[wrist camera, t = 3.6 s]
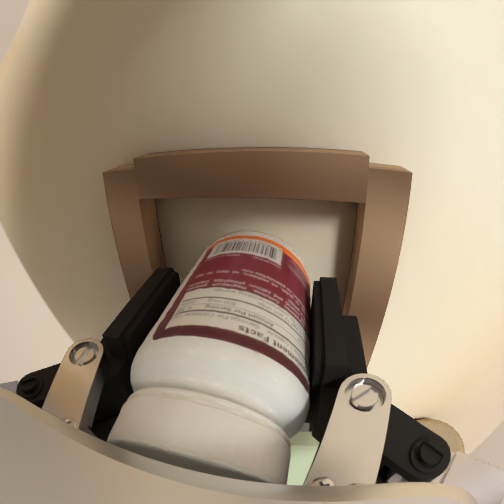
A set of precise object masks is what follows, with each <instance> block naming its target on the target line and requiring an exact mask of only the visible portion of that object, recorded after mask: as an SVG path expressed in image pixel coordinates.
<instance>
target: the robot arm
mask: <svg viewBox="0 0 504 504" xmlns="http://www.w3.org/2000/svg"><path fill="white" fill-rule="evenodd" d="M180 285H181V284H180V279H179V274H178V273H177V272H175V271H174V269H173V268H163V267H158V268H157V269H156V270H155V271H154V272H153V273H152V275H151V276H150V277H149V278H148V279H147V280H146V282H145V283H144V284H143V285H142V286H141V288H140V289H139V290H138V291H137V292H136V294H135V295H134V296H133V297H132V299H131V300H130V301H129V302H128V303H127V305H126V306H125V307H124V308H123V310H122V311H121V312H120V313H119V315H118V316H117V317H116V318H115V320H114V321H113V322H112V323H111V325H110V326H109V327H108V328H107V330H106V331H105V332H104V334H103V335H102V336H103V339H102V340H101V342H100V341H98V340H96V339H91V338H89V339H83V340H79V341H77V342H76V343H74V344H73V345H72V346H70V347H69V349H68V350H67V352H66V354H65V356H64V358H63V360H62V362H61V363H59V364H57V365H53V366H51V367H47V368H44V369H41V370H38V371H35V372H32V373H30V374H27V375H26V376H25V377H23V378H22V379H21V380H20V381H19V382H18V381H13V382H8V383H2V384H0V504H501V501H502V499H503V496H504V471H503V470H502V469H500V468H499V467H496V466H493V465H491V464H488V463H486V462H483V461H481V460H478V459H476V458H473V457H471V456H469V455H467V454H465V453H462V452H460V451H457V452H456V453H454V452H451V451H450V447H449V445H448V443H447V442H446V441H445V440H444V439H443V438H442V437H441V436H439V435H437V434H436V433H434V432H433V431H431V430H430V429H428V428H427V427H425V426H424V425H422V424H421V423H419V422H418V421H416V420H415V419H413V418H412V417H410V416H409V415H407V414H406V413H404V412H403V411H401V410H400V409H398V408H397V407H395V406H394V405H392V404H391V400H392V396H391V390H390V388H389V386H388V384H387V383H386V382H385V381H384V380H383V379H381V378H379V377H378V376H375V375H372V374H367V367H366V361H365V356H364V350H363V344H362V339H361V334H360V328H359V323H358V319H357V316H353V315H342V311H341V304H340V298H339V292H338V286H337V280H336V278H330V277H320V281H314V285H313V295H312V304H311V359H310V361H311V404H310V409H309V412H308V415H307V418H306V421H305V423H309V432H312V436H313V437H314V438H315V439H316V440H317V441H318V442H319V445H318V448H317V451H316V453H315V456H314V458H313V461H312V463H311V466H310V468H309V471H308V473H307V476H306V478H305V480H304V483H303V485H284V484H271V483H261V482H253V481H245V480H238V479H232V478H226V477H221V476H216V475H211V474H206V473H201V472H197V471H193V470H189V469H185V468H181V467H177V466H173V465H170V464H166V463H163V462H160V461H157V460H153V459H150V458H147V457H144V456H141V455H138V454H136V453H133V452H130V451H128V450H125V449H122V448H120V447H117V446H115V445H112V444H110V443H108V442H107V439H108V436H109V434H110V432H111V430H112V428H113V426H114V424H115V422H116V420H117V418H118V416H119V414H120V411H121V408H122V406H123V405H124V404H125V402H127V400H128V398H129V397H130V395H131V394H133V393H134V392H133V388H132V385H131V380H130V374H131V366H132V363H133V360H134V358H135V355H136V353H137V351H138V349H139V348H140V346H141V345H142V343H143V342H144V340H145V339H146V337H147V336H148V334H149V332H150V331H151V330H152V328H153V326H154V325H155V323H156V322H157V320H158V319H159V317H160V316H161V315H162V313H163V312H164V310H165V308H166V307H167V305H168V304H169V302H170V301H171V299H172V298H173V296H174V295H175V293H176V291H177V289H178V288H179V287H180Z"/></svg>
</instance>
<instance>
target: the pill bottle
mask: <svg viewBox="0 0 504 504" xmlns="http://www.w3.org/2000/svg"><path fill="white" fill-rule="evenodd" d="M310 301H311V300H310V280H309V275H308V272H307V269H306V267H305V265H304V263H303V261H302V260H301V258H300V257H299V256H298V254H297V253H296V252H295V251H294V250H293V249H292V248H291V247H290V246H289V245H288V244H286V243H285V242H283V241H282V240H280V239H278V238H276V237H273V236H271V235H268V234H265V233H260V232H253V231H243V232H235V233H231V234H228V235H226V236H223V237H221V238H219V239H217V240H216V241H214V242H213V243H212V244H211V245H209V246H208V247H207V248H206V249H205V251H204V252H203V253H202V255H201V256H200V257H199V258H198V260H197V262H196V263H195V265H194V266H193V267H192V269H191V270H190V272H189V273H188V275H187V276H186V278H185V279H184V281H183V282H182V284H181V285H180V287H179V288H178V289H177V291H176V293H175V295H174V296H173V298H172V299H171V301H170V302H169V304H168V305H167V307H166V308H165V310H164V312H163V313H162V315H161V316H160V317H159V319H158V320H157V322H156V323H155V325H154V326H153V328H152V330H151V331H150V332H149V334H148V336H147V337H146V339H145V340H144V342H143V343H142V345H141V346H140V348H139V349H138V351H137V353H136V355H135V358H134V360H133V363H132V366H131V374H130V380H131V385H132V388H133V392H134V393H133V394H131V395H130V397H129V398H128V400H127V402H125V404H124V405H123V406H122V408H121V411H120V414H119V416H118V418H117V420H116V422H115V424H114V426H113V428H112V430H111V432H110V434H109V436H108V439H107V442H108V443H110V444H112V445H115V446H117V447H120V448H122V449H125V450H128V451H130V452H133V453H136V454H138V455H141V456H144V457H147V458H150V459H153V460H157V461H160V462H163V463H166V464H170V465H173V466H177V467H181V468H185V469H189V470H193V471H197V472H201V473H206V474H211V475H216V476H221V477H226V478H232V479H238V480H245V481H253V482H261V483H271V484H284V485H287V479H288V471H289V464H290V458H291V452H290V447H291V444H290V440H289V439H291V438H292V437H293V436H294V435H295V434H297V433H298V431H299V430H300V429H301V427H302V426H303V424H304V423H305V421H306V418H307V415H308V412H309V409H310V404H311V361H310V359H311V306H310Z"/></svg>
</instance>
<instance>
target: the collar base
mask: <svg viewBox="0 0 504 504" xmlns="http://www.w3.org/2000/svg"><path fill="white" fill-rule="evenodd" d="M133 160H134V165H126V166H119V167H116V168H114V169H111V170H108V171H106V172H103V177H104V184H105V190H106V196H107V202H108V208H109V213H110V218H111V223H112V228H113V232H114V237H115V241H116V246H117V250H118V254H119V258H120V262H121V266H122V270H123V274H124V278H125V281H126V285H127V288H128V292H129V295H130V299H132V297H133V296H134V295H135V294H136V292H137V291H138V290H139V289H140V288H141V286H142V285H143V284H144V283H145V282H146V280H147V279H148V278H149V277H150V276H151V275H152V273H153V272H154V271H155V270H156V269H157V268H158V267H163V268H166V265H165V260H164V255H163V249H162V243H161V237H160V231H159V225H158V218H157V212H156V205H155V199H161V198H278V199H306V200H327V201H344V202H358V208H357V217H356V227H355V235H354V243H353V251H352V258H351V265H350V271H349V278H348V284H347V290H346V296H345V301H344V307H343V312H342V315H353V316H357V319H358V323H359V328H360V334H361V339H362V344H363V350H364V356H365V361H366V367H368V364H369V361H370V358H371V355H372V353H373V350H374V347H375V344H376V341H377V338H378V335H379V332H380V328H381V325H382V322H383V319H384V315H385V312H386V308H387V305H388V301H389V297H390V293H391V290H392V286H393V282H394V278H395V273H396V269H397V265H398V260H399V255H400V251H401V246H402V240H403V235H404V229H405V224H406V217H407V211H408V204H409V197H410V189H411V180H412V173H411V172H410V171H408V170H406V169H404V168H402V167H401V166H393V165H384V164H375V163H369V156H368V155H367V154H365V153H363V152H360V151H348V150H334V149H317V148H288V147H243V148H214V149H196V150H182V151H170V152H160V153H150V154H147V155H143V156H140V157H137V158H134V159H133Z"/></svg>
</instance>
